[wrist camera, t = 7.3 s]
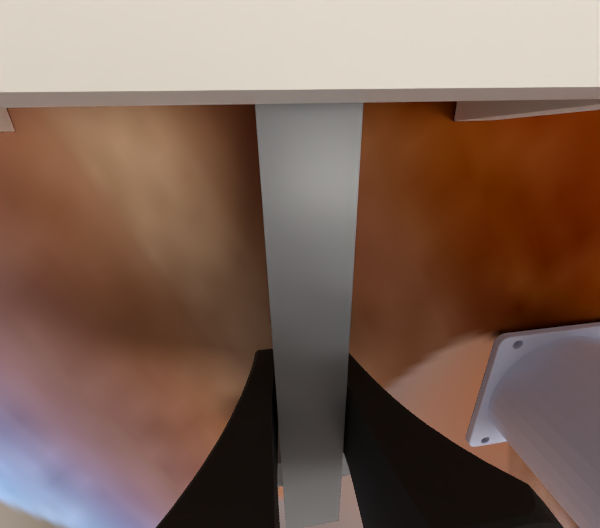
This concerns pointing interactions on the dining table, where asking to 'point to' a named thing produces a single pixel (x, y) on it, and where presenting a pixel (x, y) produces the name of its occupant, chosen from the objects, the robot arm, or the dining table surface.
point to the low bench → (302, 54)
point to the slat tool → (310, 291)
